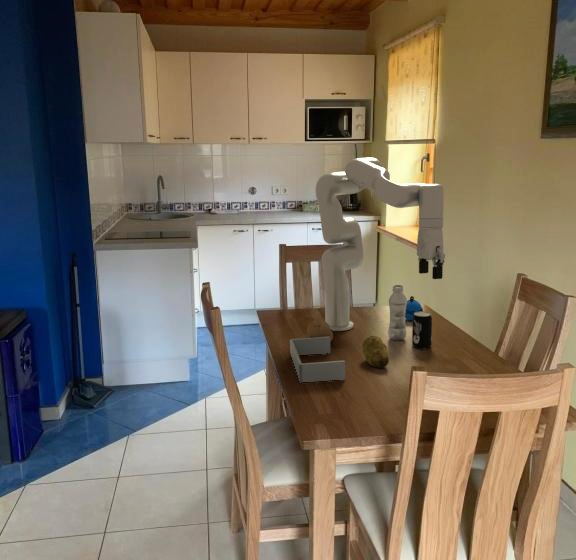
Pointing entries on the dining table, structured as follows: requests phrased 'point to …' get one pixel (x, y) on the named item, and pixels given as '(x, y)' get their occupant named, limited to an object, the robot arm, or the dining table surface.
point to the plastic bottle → (397, 314)
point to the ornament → (412, 308)
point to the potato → (375, 352)
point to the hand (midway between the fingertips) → (430, 275)
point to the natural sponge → (319, 329)
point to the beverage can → (422, 330)
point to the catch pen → (319, 369)
